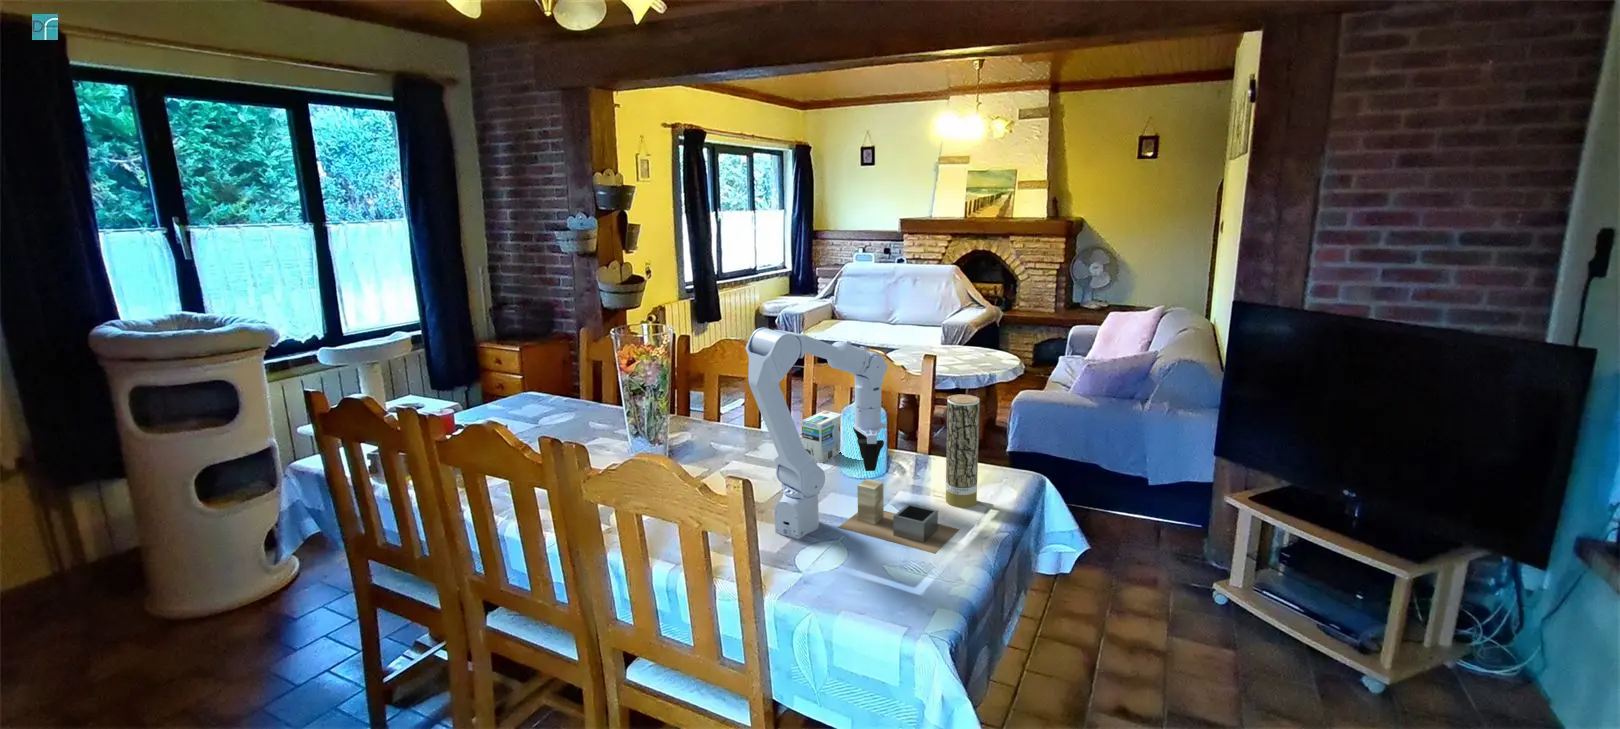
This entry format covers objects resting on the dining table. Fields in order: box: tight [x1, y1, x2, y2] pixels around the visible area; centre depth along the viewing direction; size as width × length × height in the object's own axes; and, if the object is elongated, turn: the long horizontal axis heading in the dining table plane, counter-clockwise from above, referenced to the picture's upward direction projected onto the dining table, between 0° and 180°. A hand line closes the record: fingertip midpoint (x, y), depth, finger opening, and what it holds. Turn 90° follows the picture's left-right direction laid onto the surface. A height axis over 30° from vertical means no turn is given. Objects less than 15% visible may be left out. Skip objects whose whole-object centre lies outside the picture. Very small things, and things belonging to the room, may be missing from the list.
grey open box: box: [893, 503, 939, 543], centre depth 151 cm, size 7×7×4 cm
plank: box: [837, 510, 960, 554], centre depth 154 cm, size 12×22×1 cm, turn 56°
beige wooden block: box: [857, 478, 885, 525], centre depth 158 cm, size 4×4×8 cm
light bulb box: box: [801, 410, 842, 464], centre depth 199 cm, size 11×7×11 cm, turn 143°
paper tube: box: [945, 394, 981, 509], centre depth 163 cm, size 7×7×25 cm
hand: (868, 464), depth 165 cm, fingers open, 7 cm apart
